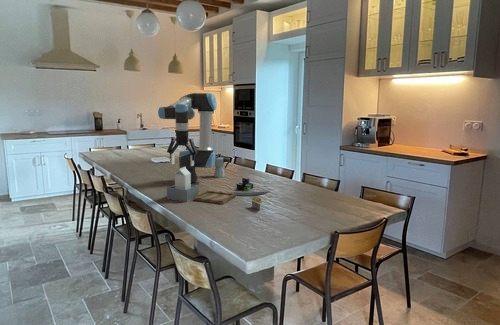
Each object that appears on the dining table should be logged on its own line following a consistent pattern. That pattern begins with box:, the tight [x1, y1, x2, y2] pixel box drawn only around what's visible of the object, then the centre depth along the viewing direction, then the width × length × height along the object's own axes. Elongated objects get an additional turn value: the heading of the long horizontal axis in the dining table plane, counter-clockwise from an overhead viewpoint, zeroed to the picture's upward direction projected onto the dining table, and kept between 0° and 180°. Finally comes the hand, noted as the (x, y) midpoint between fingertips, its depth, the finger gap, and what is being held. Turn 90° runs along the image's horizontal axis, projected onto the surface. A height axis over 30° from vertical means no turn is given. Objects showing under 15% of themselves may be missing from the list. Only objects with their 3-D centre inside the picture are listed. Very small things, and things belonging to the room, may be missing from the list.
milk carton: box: [174, 167, 192, 190], centre depth 218 cm, size 7×7×19 cm
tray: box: [193, 190, 237, 205], centre depth 218 cm, size 20×18×2 cm
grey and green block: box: [249, 195, 264, 211], centre depth 200 cm, size 12×18×7 cm, turn 32°
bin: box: [166, 184, 200, 202], centre depth 219 cm, size 14×14×7 cm
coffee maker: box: [213, 153, 230, 178], centre depth 281 cm, size 15×9×18 cm, turn 68°
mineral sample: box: [219, 177, 269, 197], centre depth 242 cm, size 35×35×9 cm
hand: (182, 165), depth 216 cm, fingers open, 13 cm apart
